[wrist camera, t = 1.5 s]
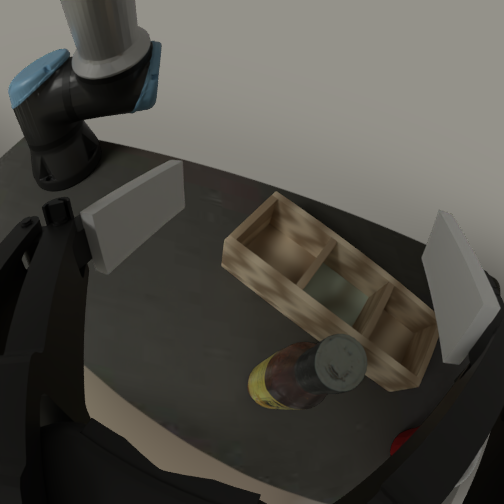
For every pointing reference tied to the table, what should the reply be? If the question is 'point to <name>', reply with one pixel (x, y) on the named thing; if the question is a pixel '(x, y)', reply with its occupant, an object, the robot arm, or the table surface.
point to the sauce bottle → (308, 373)
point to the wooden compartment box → (332, 290)
